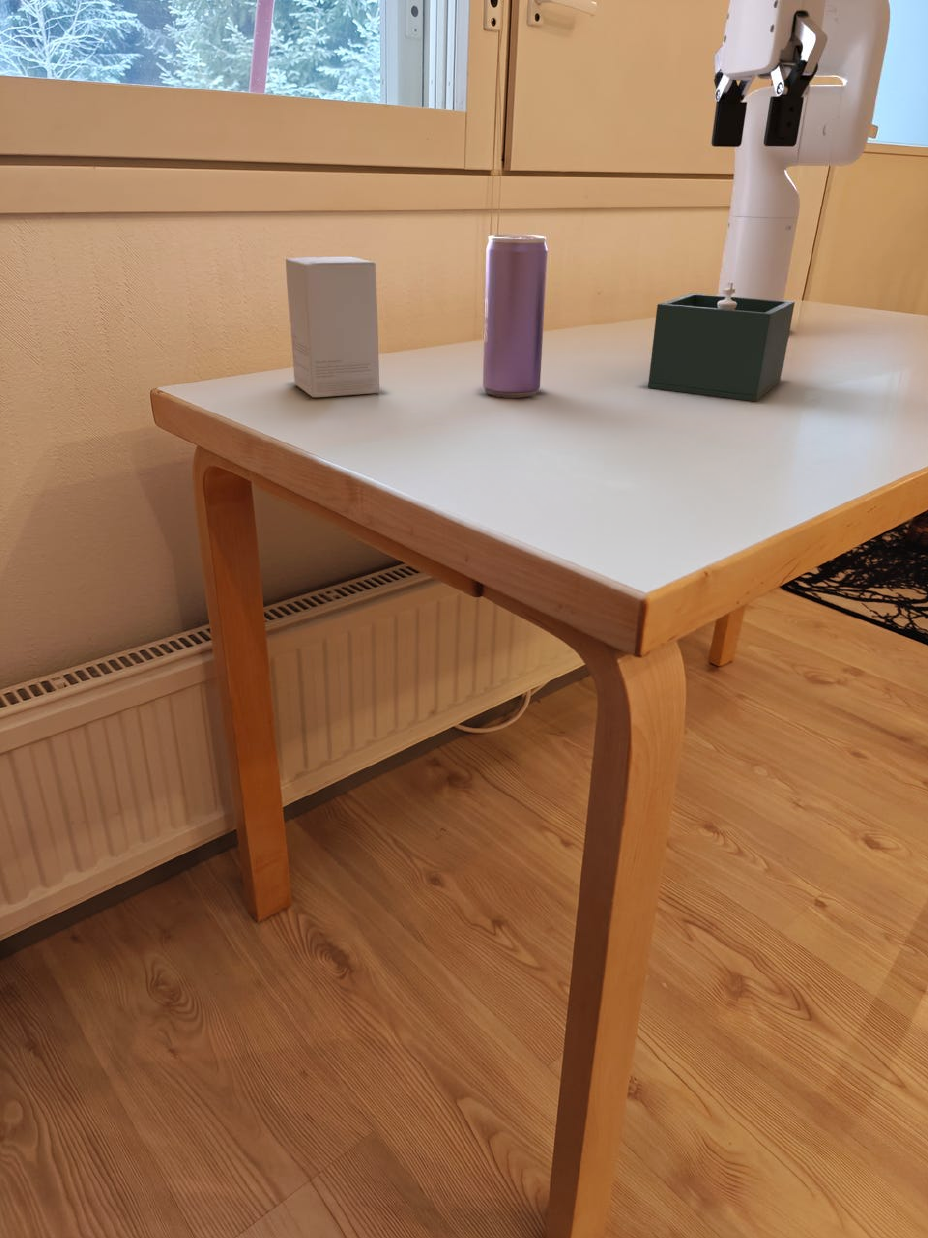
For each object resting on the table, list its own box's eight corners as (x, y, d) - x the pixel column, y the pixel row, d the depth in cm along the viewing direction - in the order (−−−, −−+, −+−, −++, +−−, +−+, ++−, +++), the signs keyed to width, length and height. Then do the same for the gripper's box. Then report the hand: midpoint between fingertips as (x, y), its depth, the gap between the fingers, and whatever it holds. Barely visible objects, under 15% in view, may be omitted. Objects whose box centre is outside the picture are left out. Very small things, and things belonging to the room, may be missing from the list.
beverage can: (541, 399, 88) (550, 238, 81) (482, 398, 88) (486, 237, 81) (537, 386, 93) (546, 234, 86) (482, 385, 93) (486, 233, 86)
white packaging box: (381, 393, 89) (378, 261, 83) (311, 399, 86) (302, 262, 80) (359, 379, 95) (354, 254, 89) (292, 384, 92) (283, 256, 86)
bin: (680, 369, 103) (690, 293, 99) (780, 381, 98) (794, 301, 94) (647, 387, 94) (657, 304, 90) (755, 401, 89) (770, 313, 85)
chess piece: (684, 378, 95) (697, 281, 91) (708, 372, 98) (722, 279, 94) (723, 385, 92) (739, 286, 88) (747, 379, 95) (763, 283, 91)
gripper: (884, -92, 71) (838, 146, 79) (767, -50, 85) (739, 147, 94) (804, -99, 69) (766, 145, 77) (698, -55, 84) (676, 146, 92)
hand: (751, 146), depth 85 cm, fingers open, 9 cm apart
